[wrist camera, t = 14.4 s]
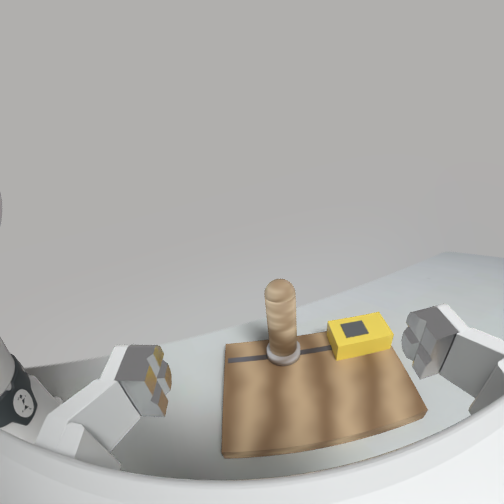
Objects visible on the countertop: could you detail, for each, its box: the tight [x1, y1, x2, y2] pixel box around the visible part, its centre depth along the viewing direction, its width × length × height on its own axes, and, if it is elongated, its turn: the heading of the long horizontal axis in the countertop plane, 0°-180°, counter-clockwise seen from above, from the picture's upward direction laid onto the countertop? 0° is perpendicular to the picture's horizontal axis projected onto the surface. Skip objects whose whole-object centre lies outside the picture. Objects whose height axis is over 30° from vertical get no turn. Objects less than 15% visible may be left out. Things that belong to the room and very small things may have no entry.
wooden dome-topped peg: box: [265, 279, 300, 366], centre depth 38 cm, size 5×5×13 cm
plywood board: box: [222, 331, 428, 458], centre depth 35 cm, size 26×20×2 cm
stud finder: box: [327, 312, 394, 361], centre depth 40 cm, size 9×6×3 cm, turn 92°
